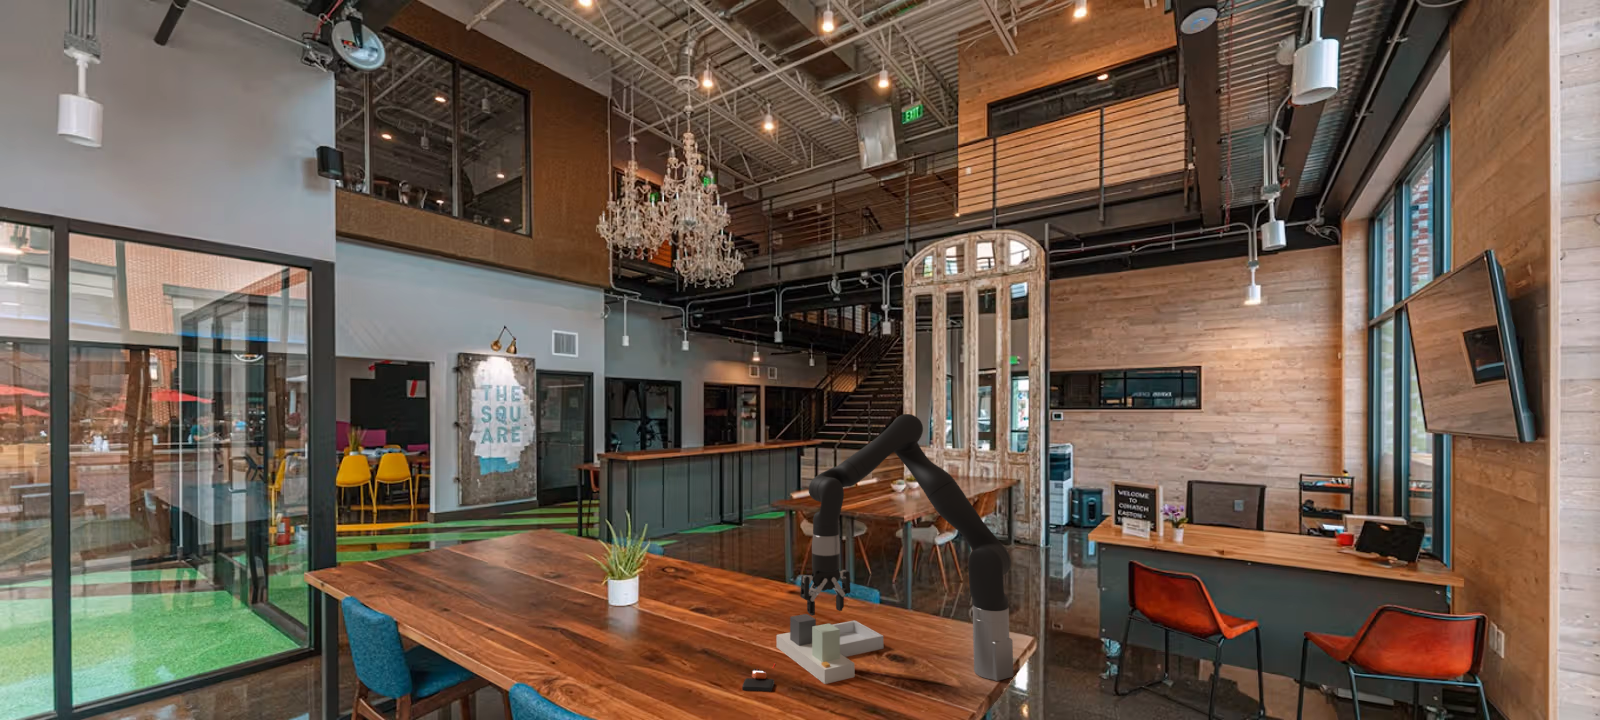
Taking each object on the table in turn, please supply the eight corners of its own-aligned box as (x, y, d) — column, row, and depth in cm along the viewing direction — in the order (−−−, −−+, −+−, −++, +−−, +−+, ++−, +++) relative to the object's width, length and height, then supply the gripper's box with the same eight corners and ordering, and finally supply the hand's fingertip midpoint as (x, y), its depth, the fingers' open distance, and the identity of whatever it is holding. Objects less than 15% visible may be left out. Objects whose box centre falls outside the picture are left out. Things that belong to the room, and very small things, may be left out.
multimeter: (743, 662, 172) (743, 649, 172) (785, 665, 170) (785, 652, 170) (723, 691, 154) (724, 677, 155) (770, 695, 152) (770, 681, 153)
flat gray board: (854, 676, 161) (854, 660, 162) (824, 684, 157) (824, 667, 158) (803, 641, 186) (803, 627, 186) (776, 647, 182) (776, 632, 182)
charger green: (839, 668, 164) (839, 629, 165) (822, 672, 162) (822, 632, 163) (829, 661, 169) (829, 623, 170) (812, 664, 167) (812, 626, 168)
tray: (883, 648, 181) (883, 635, 181) (839, 658, 174) (838, 644, 174) (854, 632, 194) (854, 620, 194) (812, 640, 187) (812, 628, 187)
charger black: (815, 651, 176) (815, 619, 177) (799, 655, 173) (799, 622, 174) (806, 645, 181) (806, 613, 181) (790, 648, 178) (790, 616, 179)
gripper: (809, 556, 162) (809, 620, 160) (855, 551, 168) (855, 612, 167) (796, 550, 168) (795, 612, 167) (841, 545, 175) (840, 604, 174)
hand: (825, 612), depth 167 cm, fingers open, 8 cm apart
